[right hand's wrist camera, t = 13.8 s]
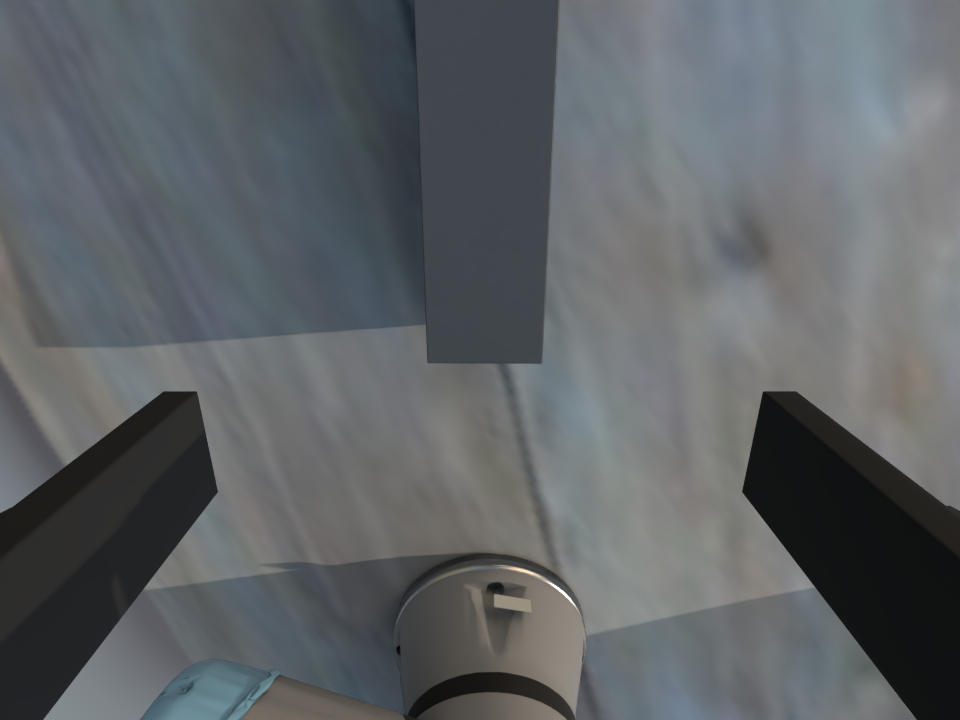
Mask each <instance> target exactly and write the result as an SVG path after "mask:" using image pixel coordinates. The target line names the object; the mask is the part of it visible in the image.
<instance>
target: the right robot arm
mask: <svg viewBox="0 0 960 720" xmlns="http://www.w3.org/2000/svg"><path fill="white" fill-rule="evenodd" d="M217 492H218V491H217V486H216V481H215V476H214V471H213V467H212V462H211V457H210V452H209V447H208V443H207V438H206V433H205V428H204V423H203V419H202V414H201V409H200V404H199V399H198V395H197V392H163V393H161V394H160V395H159V396H157V397H156V398H155V399H153V400H152V401H151V402H150V403H148V404H147V405H146V406H144V407H143V408H142V409H140V410H139V411H138V412H136V413H135V414H134V415H132V416H131V417H130V418H129V419H127V420H126V421H125V422H123V423H122V424H121V425H119V426H118V427H117V428H115V429H114V430H113V431H112V432H110V433H109V434H108V435H106V436H105V437H104V438H102V439H101V440H100V441H98V442H97V443H96V444H95V445H93V446H92V447H91V448H89V449H88V450H87V451H85V452H84V453H83V454H81V455H80V456H79V457H78V458H76V459H75V460H74V461H72V462H71V463H70V464H68V465H67V466H66V467H64V468H63V469H62V470H60V471H59V472H58V473H57V474H55V475H54V476H53V477H51V478H50V479H49V480H47V481H46V482H45V483H44V484H42V485H41V486H40V487H38V488H37V489H36V490H34V491H33V492H32V493H30V494H29V495H28V496H26V497H25V498H24V499H23V500H21V501H20V502H19V503H17V504H16V505H15V506H13V507H12V508H9V509H8V510H6V511H4V512H2V513H0V720H43V719H44V718H45V717H46V715H47V714H48V713H49V711H50V710H51V709H52V707H53V706H54V705H55V703H56V702H57V701H58V700H59V698H60V697H61V696H62V694H63V693H64V692H65V690H66V689H67V688H68V687H69V685H70V684H71V683H72V681H73V680H74V679H75V677H76V676H77V675H78V673H79V672H80V671H81V669H82V668H83V667H84V666H85V664H86V663H87V662H88V660H89V659H90V658H91V657H92V655H93V654H94V653H95V651H96V650H97V649H98V647H99V646H100V645H101V644H102V642H103V641H104V640H105V638H106V637H107V636H108V634H109V633H110V632H111V630H112V629H113V628H114V627H115V625H116V624H117V623H118V621H119V620H120V619H121V617H122V616H123V615H124V614H125V612H126V611H127V610H128V608H129V607H130V606H131V604H132V603H133V602H134V600H135V599H136V598H137V597H138V595H139V594H140V593H141V591H142V590H143V589H144V587H145V586H146V585H147V584H148V582H149V581H150V580H151V578H152V577H153V576H154V574H155V573H156V572H157V570H158V569H159V568H160V567H161V565H162V564H163V563H164V561H165V560H166V559H167V557H168V556H169V555H170V554H171V552H172V551H173V550H174V548H175V547H176V546H177V544H178V543H179V542H180V541H181V539H182V538H183V537H184V535H185V534H186V533H187V531H188V530H189V529H190V527H191V526H192V525H193V524H194V522H195V521H196V520H197V518H198V517H199V516H200V514H201V513H202V512H203V511H204V509H205V508H206V507H207V505H208V504H209V503H210V501H211V500H212V499H213V497H214V496H215V495H216V494H217ZM742 492H743V494H744V495H745V496H746V497H747V499H748V500H749V501H750V503H751V504H752V505H753V507H754V508H755V509H756V511H757V512H758V513H759V514H760V516H761V517H762V518H763V520H764V521H765V522H766V524H767V525H768V526H769V527H770V529H771V530H772V531H773V533H774V534H775V535H776V537H777V538H778V539H779V541H780V542H781V543H782V544H783V546H784V547H785V548H786V550H787V551H788V552H789V554H790V555H791V556H792V557H793V559H794V560H795V561H796V563H797V564H798V565H799V567H800V568H801V569H802V571H803V572H804V573H805V574H806V576H807V577H808V578H809V580H810V581H811V582H812V584H813V585H814V586H815V587H816V589H817V590H818V591H819V593H820V594H821V595H822V597H823V598H824V599H825V600H826V602H827V603H828V604H829V606H830V607H831V608H832V610H833V611H834V612H835V614H836V615H837V616H838V617H839V619H840V620H841V621H842V623H843V624H844V625H845V627H846V628H847V629H848V630H849V632H850V633H851V634H852V636H853V637H854V638H855V640H856V641H857V642H858V644H859V645H860V646H861V647H862V649H863V650H864V651H865V653H866V654H867V655H868V657H869V658H870V659H871V660H872V662H873V663H874V664H875V666H876V667H877V668H878V670H879V671H880V672H881V673H882V675H883V676H884V677H885V679H886V680H887V681H888V683H889V684H890V685H891V687H892V688H893V689H894V690H895V692H896V693H897V694H898V696H899V697H900V698H901V700H902V701H903V702H904V703H905V705H906V706H907V707H908V709H909V710H910V711H911V713H912V714H913V715H914V717H915V718H916V719H917V720H960V511H959V510H957V509H955V508H953V507H951V506H945V505H944V504H943V503H941V502H940V501H939V500H937V499H936V498H935V497H934V496H932V495H931V494H930V493H928V492H927V491H926V490H924V489H923V488H922V487H920V486H919V485H918V484H917V483H915V482H914V481H913V480H911V479H910V478H909V477H907V476H906V475H905V474H903V473H902V472H901V471H900V470H898V469H897V468H896V467H894V466H893V465H892V464H890V463H889V462H888V461H886V460H885V459H884V458H882V457H881V456H880V455H879V454H877V453H876V452H875V451H873V450H872V449H871V448H869V447H868V446H867V445H865V444H864V443H863V442H862V441H860V440H859V439H858V438H856V437H855V436H854V435H852V434H851V433H850V432H848V431H847V430H846V429H845V428H843V427H842V426H841V425H839V424H838V423H837V422H835V421H834V420H833V419H831V418H830V417H829V416H828V415H826V414H825V413H824V412H822V411H821V410H820V409H818V408H817V407H816V406H814V405H813V404H812V403H810V402H809V401H808V400H807V399H805V398H804V397H803V396H801V395H800V394H799V393H797V392H763V395H762V399H761V404H760V409H759V414H758V419H757V423H756V428H755V433H754V438H753V443H752V447H751V452H750V457H749V462H748V467H747V471H746V476H745V481H744V486H743V491H742ZM394 649H395V656H396V661H397V665H398V668H399V670H400V680H401V688H402V694H403V700H404V705H405V711H406V715H403V714H401V713H397V712H394V711H391V710H388V709H385V708H382V707H378V706H375V705H372V704H369V703H366V702H363V701H360V700H356V699H353V698H350V697H347V696H344V695H341V694H337V693H334V692H331V691H328V690H325V689H322V688H318V687H315V686H312V685H309V684H306V683H303V682H300V681H296V680H293V679H290V678H287V677H284V676H281V675H280V674H281V671H279V670H276V669H273V670H271V671H269V672H268V671H264V670H260V669H256V668H252V667H248V666H244V665H240V664H236V663H232V662H228V661H224V660H218V659H210V660H205V661H201V662H198V663H196V664H194V665H192V666H190V667H188V668H187V669H185V670H184V671H183V672H181V673H180V674H179V675H178V676H177V677H176V678H175V679H174V680H172V681H171V683H170V684H169V685H168V686H167V687H166V688H165V689H164V690H163V691H162V693H161V694H160V695H159V696H158V697H157V699H156V700H155V701H154V702H153V704H152V705H151V706H150V708H149V709H148V710H147V711H146V713H145V714H144V715H143V717H142V718H141V719H140V720H576V716H575V713H576V706H577V698H578V691H579V684H580V675H581V669H582V666H583V662H584V658H585V652H586V631H585V625H584V620H583V616H582V611H581V608H580V605H579V602H578V600H577V598H576V596H575V595H574V593H573V592H572V590H571V589H570V588H569V586H568V585H567V584H566V583H565V582H564V581H563V580H562V579H560V578H559V577H558V576H557V575H556V574H554V573H553V572H551V571H550V570H548V569H546V568H544V567H542V566H540V565H538V564H536V563H534V562H531V561H528V560H525V559H521V558H517V557H512V556H506V555H495V554H485V555H473V556H467V557H462V558H458V559H455V560H452V561H448V562H446V563H444V564H441V565H439V566H437V567H435V568H433V569H432V570H430V571H428V572H427V573H425V574H424V575H423V576H422V577H420V578H419V579H418V580H417V581H416V582H415V583H414V584H413V585H412V586H411V587H410V589H409V590H408V591H407V593H406V594H405V596H404V597H403V600H402V602H401V604H400V607H399V610H398V615H397V620H396V626H395V631H394Z"/></svg>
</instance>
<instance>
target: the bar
mask: <svg viewBox="0 0 960 720" xmlns="http://www.w3.org/2000/svg"><path fill="white" fill-rule="evenodd" d="M559 8H560V0H414V20H415V46H416V72H417V98H418V125H419V151H420V177H421V203H422V230H423V256H424V282H425V308H426V335H427V361H428V363H538V364H541V363H542V357H543V336H544V316H545V295H546V275H547V254H548V234H549V213H550V193H551V172H552V152H553V131H554V111H555V90H556V70H557V49H558V29H559Z"/></svg>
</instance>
